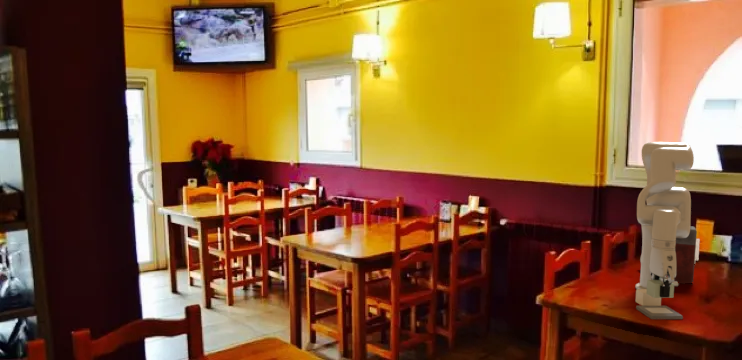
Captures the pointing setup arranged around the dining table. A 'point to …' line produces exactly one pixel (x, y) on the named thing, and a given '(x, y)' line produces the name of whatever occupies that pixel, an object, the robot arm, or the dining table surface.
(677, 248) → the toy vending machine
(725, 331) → the dining table surface
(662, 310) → the baseplate
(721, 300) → the dining table surface
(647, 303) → the cream brick
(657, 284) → the sage brick
